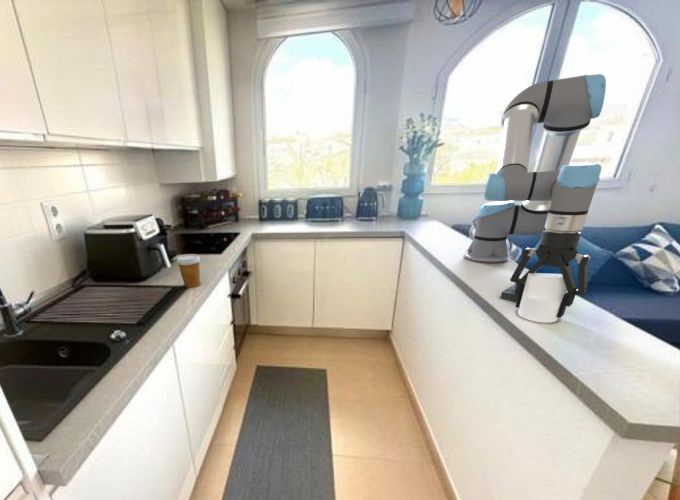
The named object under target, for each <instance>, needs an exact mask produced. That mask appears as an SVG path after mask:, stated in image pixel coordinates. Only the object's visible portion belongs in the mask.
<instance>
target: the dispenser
mask: <svg viewBox="0 0 680 500" xmlns="http://www.w3.org/2000/svg"><path fill="white" fill-rule="evenodd" d="M516 287H517V284H516V283H514V284H513V285H510V286H509V287H507V288H506V289H504V290H503V291H501V294H500V299H502V300H507V301H512V302H515V303H517V299H518V296H517V295H515V291H516Z"/></svg>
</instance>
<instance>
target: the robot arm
mask: <svg viewBox="0 0 680 500" xmlns="http://www.w3.org/2000/svg"><path fill="white" fill-rule="evenodd" d="M606 89H607V79H606V76H605V75H604V74H601V73H598V74H583V75H577V76H570V77H565V78H559V79H553V80H543V81H539V82H536V83H534V84H532V85H530V86H527V87H526V88H525V89H523V90H521V92H519V93H518V94H517V95H515V97H514V98H513V99H512V100H511V101H510V102H509V103H508V104H507V106H506V108H505V109H504V111H503V113H502V116H501V122H500V126H501V128H502V136H501V142H500V149H499V152H498V153H499V154H498V159H497V165H496V170H495V171H496V172H495V173H490V174H489V175H488V176H487V180H486V186H485V189H484V196H483V197H484V200H486V201H490V202H486V203H484V204H482V205H481V206H480V207H479V209H478V213H477V215H476V217H477V219H476V225H475V229H474V234H473V239H472V241H471V243H470V244H469V246H468V248H467V250H466V251H465V258H466V259H467V260H469V261H472V262H478V263H486V264H489V263H490V264H494V263H495V264H496V263H503V262H507V261H508V256H509V252H508V246H507V238H508V235H509V236H510V235H514V236H515V235H516V236H535V237H540V236H541V238H540V242H539V244H538V247H537V248H532V247H529V246H528V247H527V248H524V249H523V250H522V257H521V259H520V261H519V263H518V264H517V266H516V268H515V270H514V272H513V273H512V275H511V277H510V278H509V281H510V282H511V283H514V284H517V287H516V291H515V295H517V296H518V299H517V302H515V308H517V309H519V306H520V302H521V299H522V295H523V291H524V287H525V284H524V283H525V282H526V280H527V276H528V273H531V274H533V273H537V271H538V270H539V269H540V268H542V267H543V266H546V267H550V266H551V267H553V268H559V269H558V270H559V271H560V272H561V273H560V274H562V276H563V279H564V282H565V285H566V288H567V292H566V293H565V294H564V296H563V299H562V302H561V305H560V308H559V312H558V315H557V317H558V319H561V318H562V317H563V316H564V315H565V312H566V310H567V307H571V306H572V305H573V304H574V301H575V298H576V296H583V295H584V294H586V293H587V292H588V271H589V269H588V268H589V263H590V260H591V259H592V255H590V254H581V253H578V246H579V243H580V239H581V236H582V232H581V231H582V230H583V229H584V227H585V224H586V220H587V217H588V213H589V210H590V207H591V203H592V201H593V199H594V198H593V197H594V195H595V191H596V188H597V186H598V183H599V182H600V180H601V179H600V176H601V172H602V166H601V164H599V163H571V160H572V157H573V155H574V152H575V148H576V145H577V143H578V140H579V137H580V135H581V131H583V130H584V129H586V128H587V127H589V126H590V123H591V122H592V121H591V120H592V119H593V120H594V119H596V118H599V117H600V115H601V113H602V110H603V107H604V102H605V96H606ZM536 124H543V126H542V129H543V130H544V131H545V132H546V135H545V139H544V142H543V145H542V149H541V153H540V156H539V160H538V163H537V166H536V168H535V169H536V170H535V171H528V170H529V164H530V155H531V147H532V139H533V131H534V126H535V125H536ZM570 163H571V164H570ZM515 202H522V203H521V204H516V203H515ZM535 254H536V256H537V258H538V260H537V261H536V262H535V263H534V264H533V265H532V267H531V268H530V269H528V271H527V272H525V274H523V276H522V277H521V278H520V276H521V275H522V273H523V272H524V270H525V268H526V266H527V264H528V262H529V261H530V260H531V257H533V256H534V255H535ZM574 259H576V263H577V264H578V267H577V274H578V275H577V286H576V282H575V279H574V275H573V273H572V270H571V265H570V262H571V261H572V260H574Z"/></svg>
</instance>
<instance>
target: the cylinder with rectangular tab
mask: <svg viewBox="0 0 680 500" xmlns="http://www.w3.org/2000/svg"><path fill="white" fill-rule="evenodd" d="M565 293H567V288H566V285H565V282H564V279H563V276H562V273H546V272H545V273H544V272H543V273H542V272H535V273H533V274H531V273H528V276H527V280H526V284H525V287H524V291H523V295H522V299H521V302H520V306H519V308H518V310H517V315H518V316H520V317H521V318H522V319H524V320H528V321H531V322H537V323H542V324H543V323H547V324H549V323H555V322H557V321H558V320H559V318H558V317H557V315H558V312H559V308H560V305H561V302H562V299H563V296H564V294H565Z"/></svg>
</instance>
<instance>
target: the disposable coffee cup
mask: <svg viewBox="0 0 680 500" xmlns="http://www.w3.org/2000/svg"><path fill="white" fill-rule="evenodd" d="M200 262H201V258H200V256H199V255H198V254H196V253H194V254H193V253H187V254H184V255H183V254H182V255H180V256H178V257H176V263H177V265H178V267H179V271H180V274H181V277H182V282H183V285H184V287H186V288H195V287H198V286H200V285H201V275H200V274H201V273H200V271H201V270H200Z"/></svg>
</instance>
